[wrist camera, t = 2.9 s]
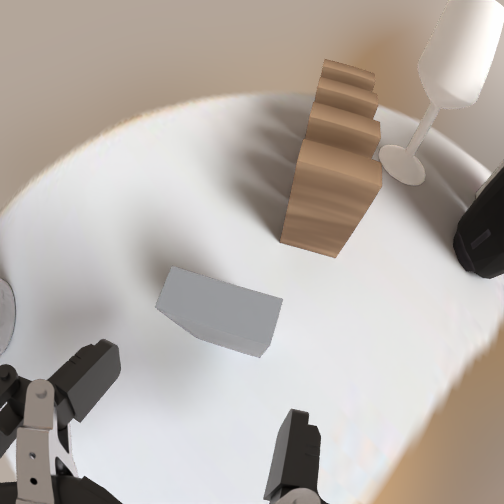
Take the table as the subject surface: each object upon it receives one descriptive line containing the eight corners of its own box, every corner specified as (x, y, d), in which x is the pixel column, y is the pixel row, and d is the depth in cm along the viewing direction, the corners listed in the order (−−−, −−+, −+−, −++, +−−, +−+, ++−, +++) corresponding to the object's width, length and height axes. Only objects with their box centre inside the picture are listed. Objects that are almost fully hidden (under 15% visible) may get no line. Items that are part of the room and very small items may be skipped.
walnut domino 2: (346, 181, 27) (378, 105, 18) (300, 168, 27) (317, 86, 18) (348, 168, 27) (377, 94, 18) (303, 155, 28) (320, 76, 19)
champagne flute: (410, 145, 30) (477, -5, 8) (434, 185, 27) (527, 27, 5) (369, 143, 29) (431, -34, 8) (393, 186, 27) (489, -7, 5)
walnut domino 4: (335, 258, 23) (381, 186, 14) (279, 242, 24) (297, 160, 14) (338, 238, 24) (381, 162, 15) (285, 223, 24) (303, 138, 15)
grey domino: (259, 357, 20) (269, 345, 10) (196, 337, 20) (154, 307, 11) (267, 333, 20) (283, 298, 11) (204, 314, 21) (172, 265, 12)
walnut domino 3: (342, 215, 25) (380, 138, 16) (291, 201, 25) (309, 116, 16) (344, 199, 26) (379, 122, 17) (295, 185, 26) (313, 101, 17)
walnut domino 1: (349, 153, 28) (375, 81, 19) (307, 141, 29) (322, 66, 20) (350, 142, 29) (374, 73, 20) (309, 131, 30) (324, 58, 21)
